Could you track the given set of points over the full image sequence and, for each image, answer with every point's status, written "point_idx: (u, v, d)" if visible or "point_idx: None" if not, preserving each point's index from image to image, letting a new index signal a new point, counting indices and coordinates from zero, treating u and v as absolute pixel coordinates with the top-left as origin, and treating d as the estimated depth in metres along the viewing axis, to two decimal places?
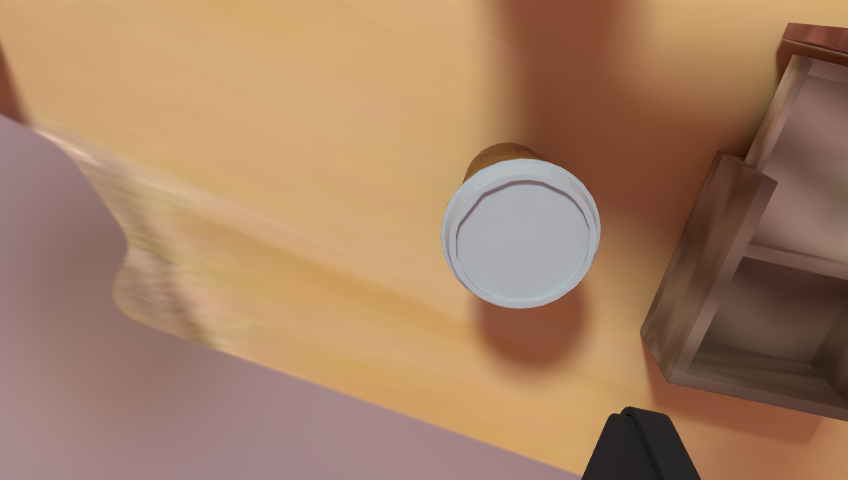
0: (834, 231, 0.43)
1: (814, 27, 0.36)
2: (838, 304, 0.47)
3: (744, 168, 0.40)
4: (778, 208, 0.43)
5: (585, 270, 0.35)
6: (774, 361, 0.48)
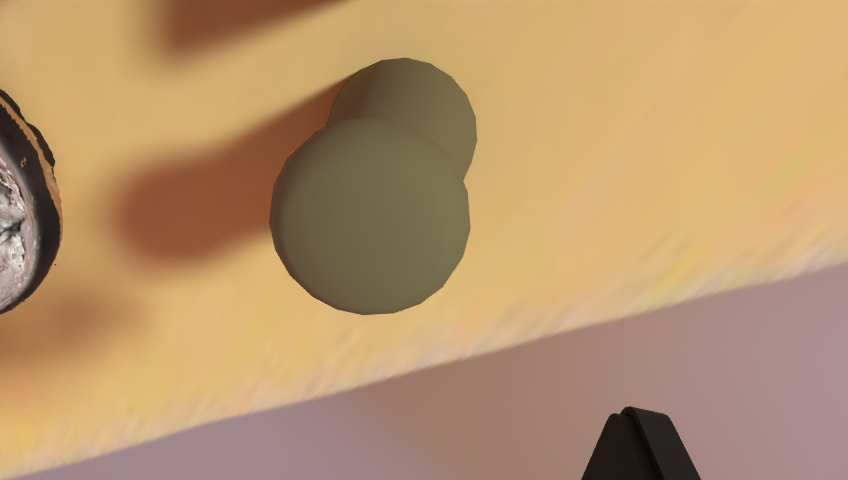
0: None
1: None
2: None
3: None
4: None
5: None
6: None
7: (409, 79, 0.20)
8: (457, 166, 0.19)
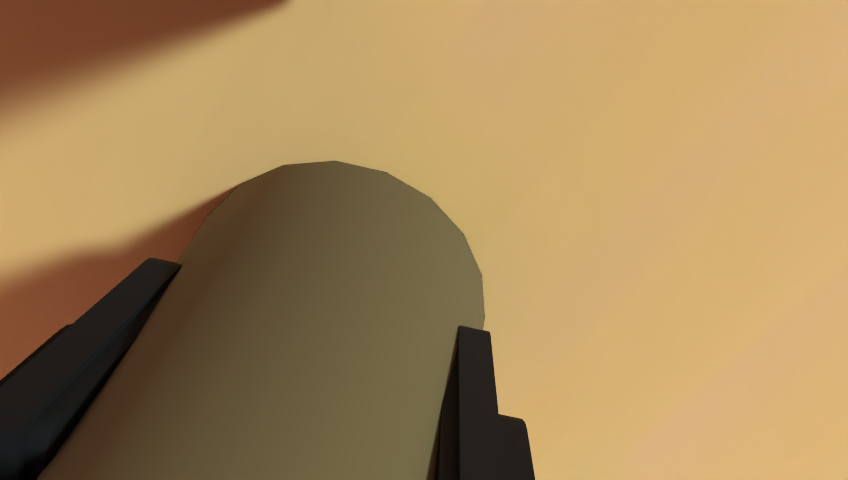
0: None
1: None
2: None
3: None
4: None
5: None
6: None
7: (326, 239, 0.08)
8: None
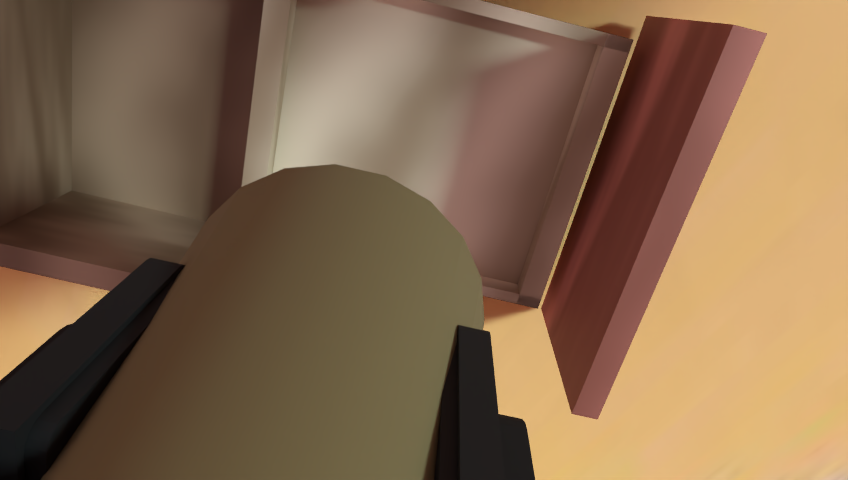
0: None
1: None
2: (191, 210, 0.28)
3: None
4: (358, 61, 0.24)
5: None
6: (58, 121, 0.26)
7: (326, 243, 0.08)
8: None
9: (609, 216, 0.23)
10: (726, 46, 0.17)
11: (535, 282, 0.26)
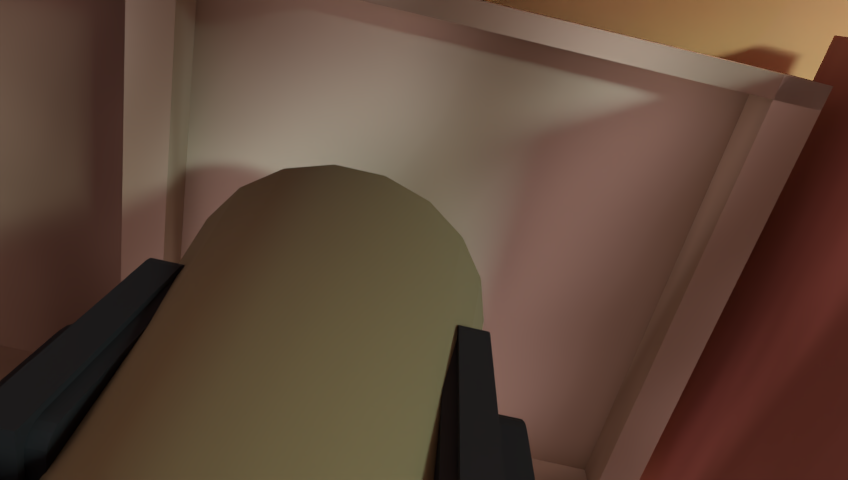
0: None
1: None
2: None
3: None
4: (312, 124, 0.13)
5: None
6: None
7: (324, 244, 0.08)
8: None
9: (780, 418, 0.12)
10: None
11: None
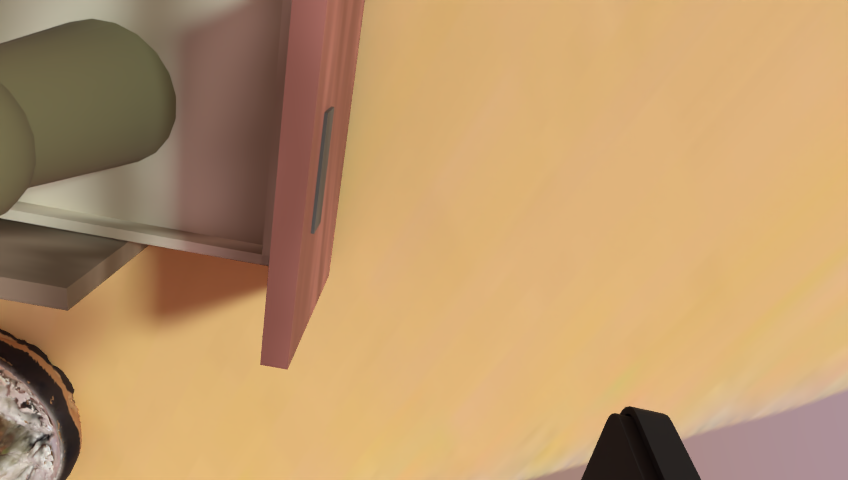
0: None
1: None
2: None
3: None
4: None
5: None
6: None
7: (62, 32, 0.22)
8: (77, 105, 0.20)
9: None
10: None
11: None
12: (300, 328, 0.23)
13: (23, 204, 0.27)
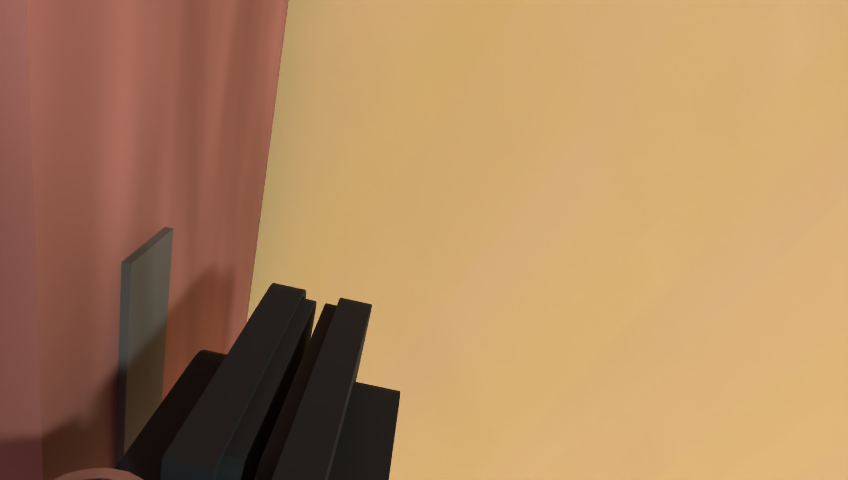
0: None
1: None
2: None
3: None
4: None
5: None
6: None
7: None
8: None
9: None
10: None
11: None
12: None
13: None
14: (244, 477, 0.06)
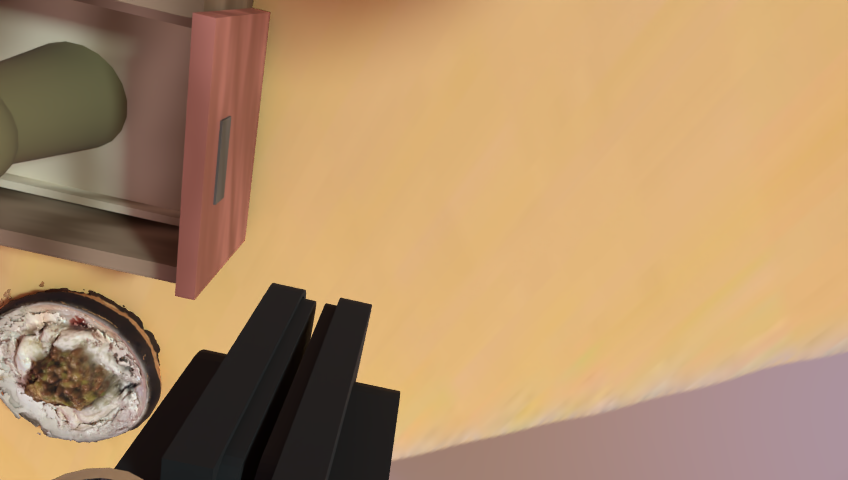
0: None
1: (249, 13, 0.30)
2: None
3: None
4: (41, 44, 0.33)
5: None
6: None
7: (42, 54, 0.30)
8: (49, 108, 0.28)
9: None
10: (193, 27, 0.25)
11: None
12: (208, 273, 0.32)
13: (11, 175, 0.35)
14: (244, 477, 0.06)
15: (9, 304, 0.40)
